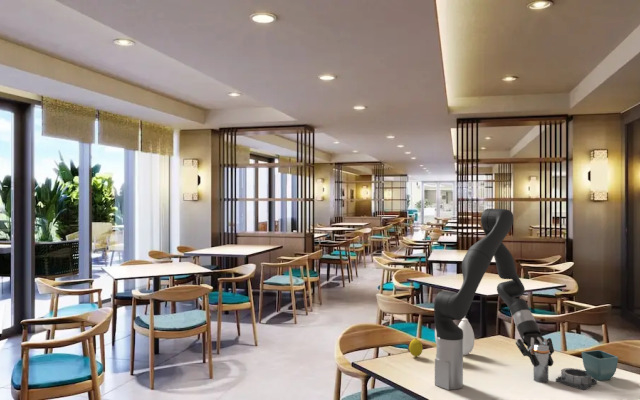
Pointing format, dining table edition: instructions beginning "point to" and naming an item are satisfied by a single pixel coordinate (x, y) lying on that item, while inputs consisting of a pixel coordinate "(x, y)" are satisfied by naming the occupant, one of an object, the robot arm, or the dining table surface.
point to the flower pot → (600, 364)
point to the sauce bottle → (467, 336)
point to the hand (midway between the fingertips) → (544, 365)
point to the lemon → (415, 347)
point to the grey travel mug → (541, 362)
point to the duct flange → (576, 378)
